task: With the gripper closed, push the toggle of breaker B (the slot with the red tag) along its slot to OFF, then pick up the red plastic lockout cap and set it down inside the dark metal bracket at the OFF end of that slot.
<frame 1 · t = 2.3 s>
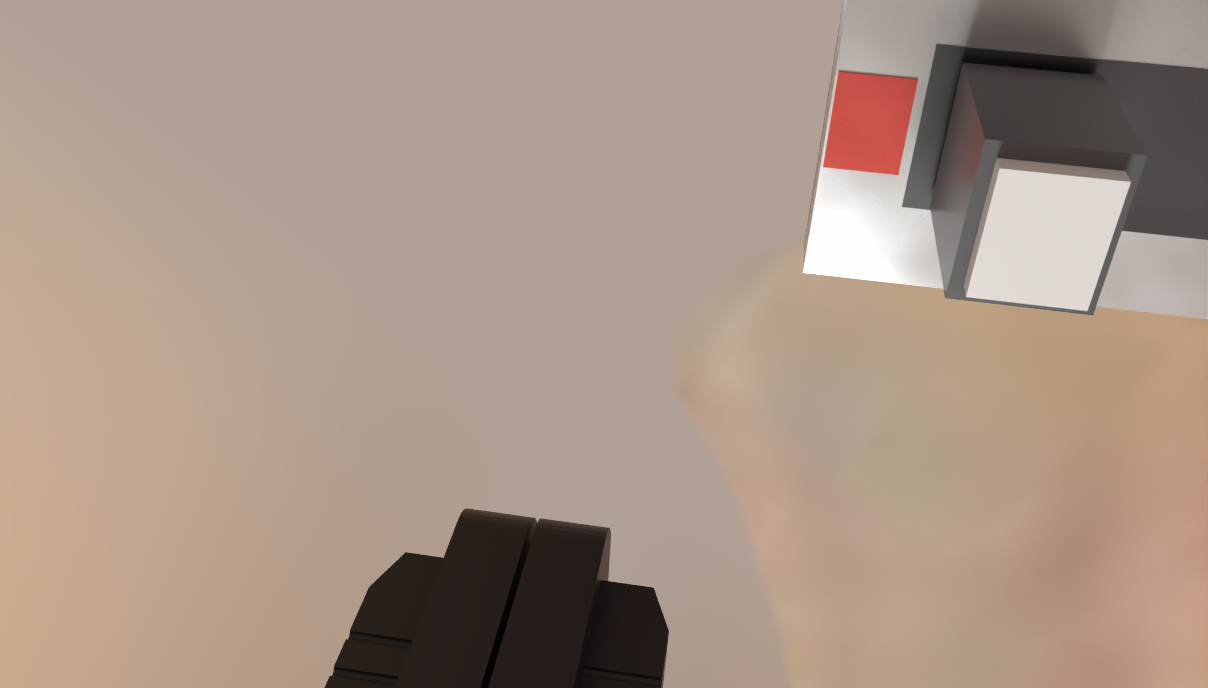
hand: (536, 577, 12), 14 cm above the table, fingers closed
toggle B: (1027, 189, 20), point 3 cm above the table, slide at 0.0 cm
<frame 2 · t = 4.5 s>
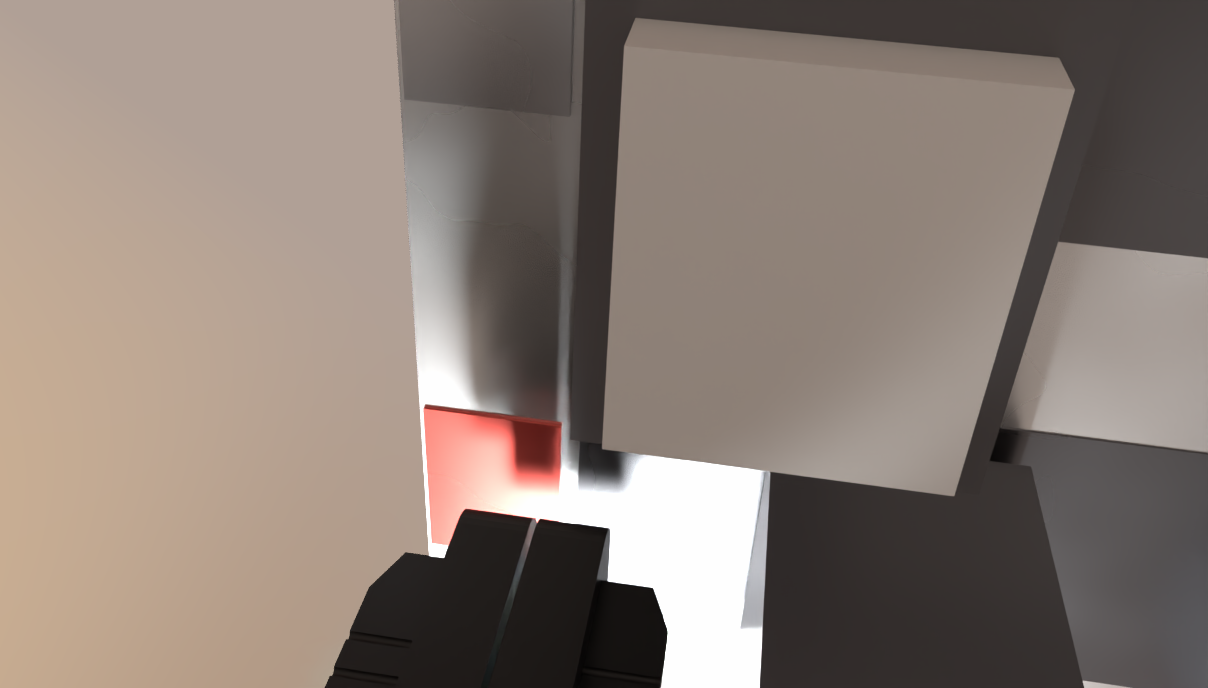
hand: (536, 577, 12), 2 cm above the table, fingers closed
toggle A: (808, 137, 7), point 3 cm above the table, slide at 0.0 cm
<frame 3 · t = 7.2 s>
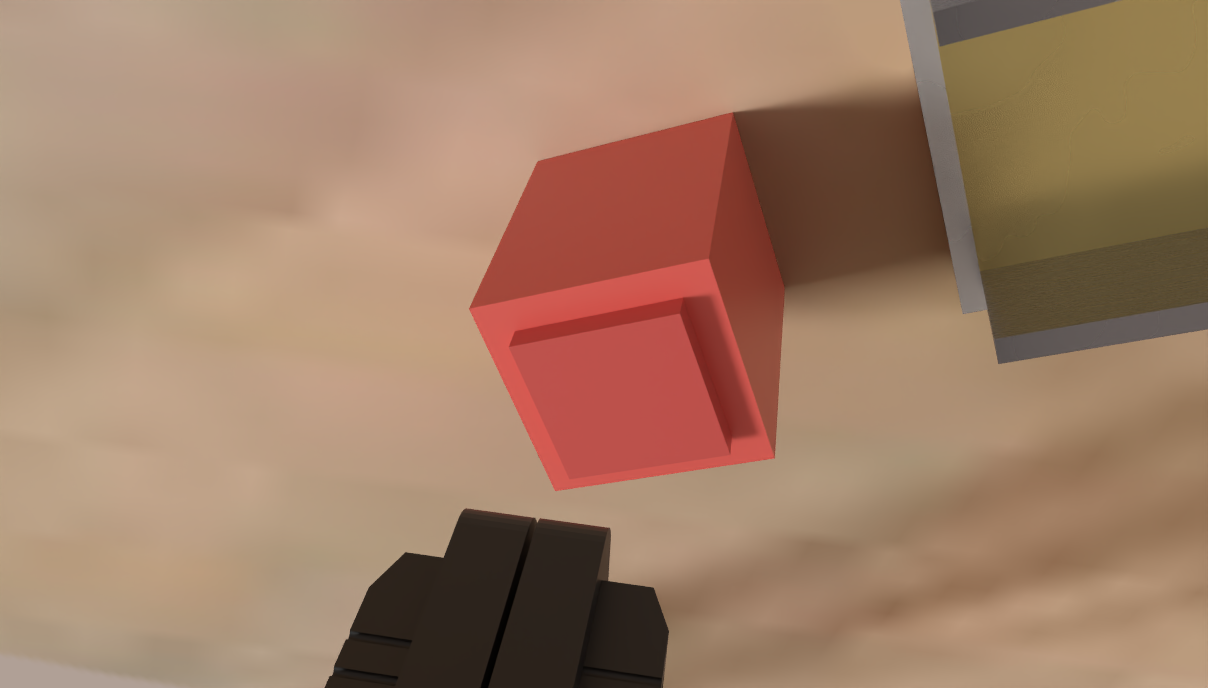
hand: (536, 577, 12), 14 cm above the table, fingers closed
lockout cap: (663, 225, 26), on the table
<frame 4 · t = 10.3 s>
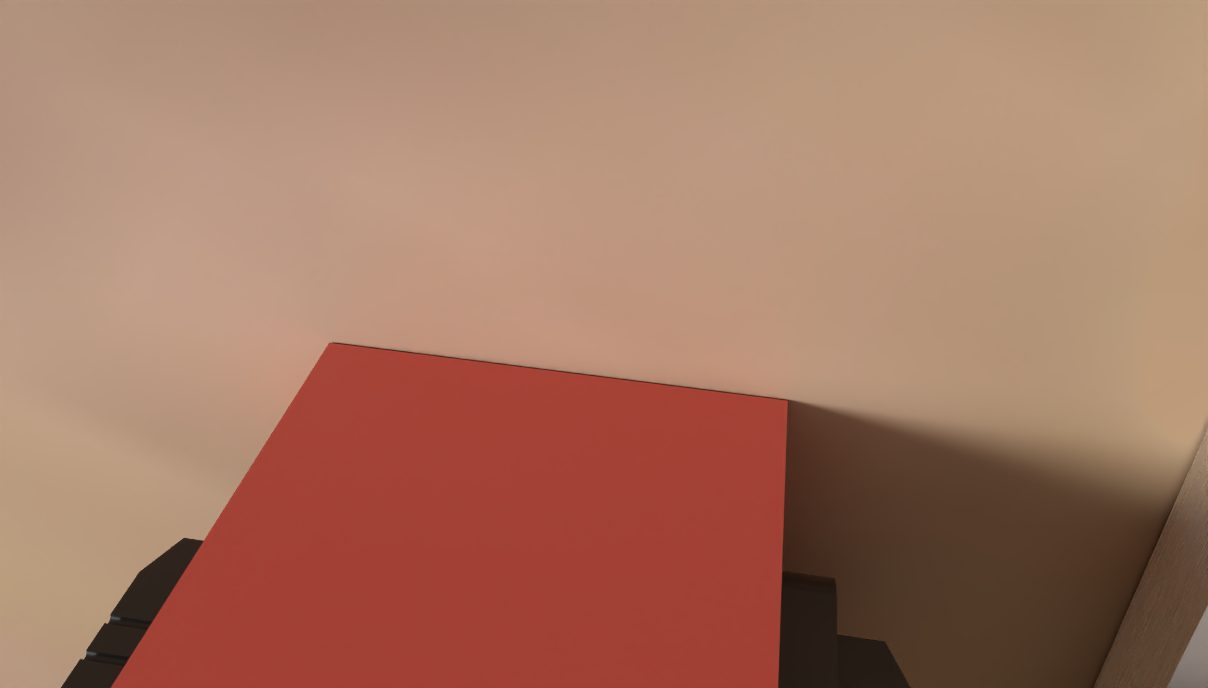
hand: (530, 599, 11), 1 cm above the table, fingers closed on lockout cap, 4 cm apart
lockout cap: (550, 539, 12), on the table, touching gripper
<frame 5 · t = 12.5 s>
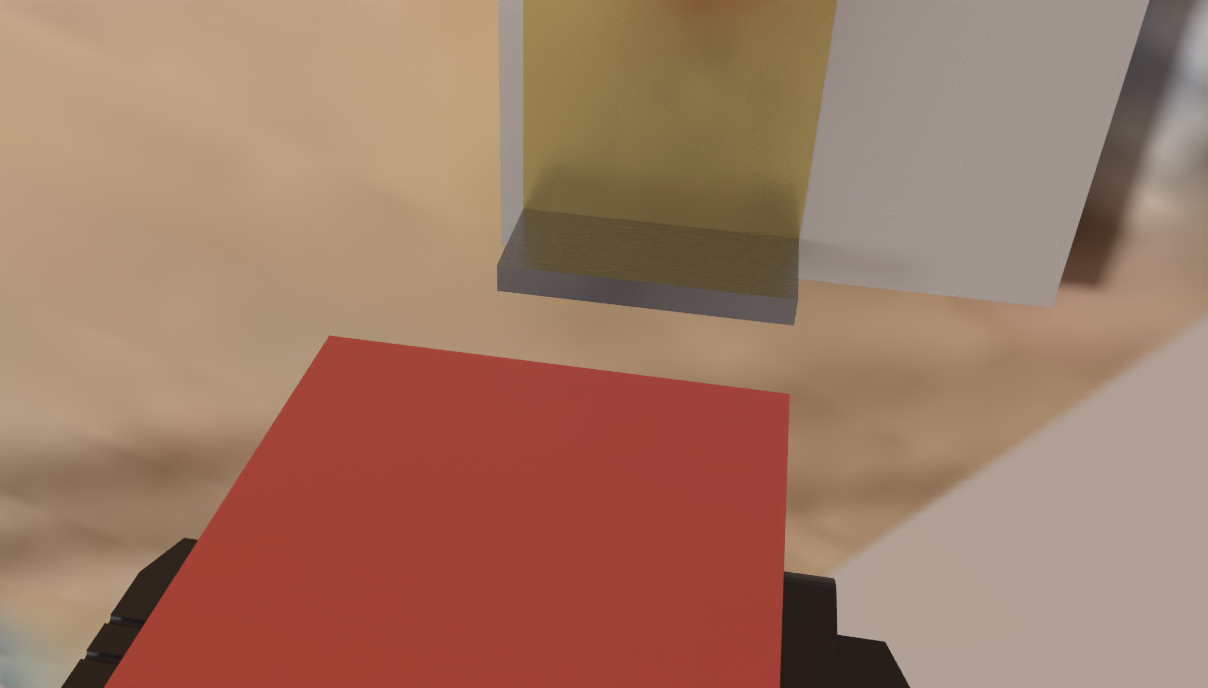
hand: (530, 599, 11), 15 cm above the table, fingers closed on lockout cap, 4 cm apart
lockout cap: (550, 533, 12), point 14 cm above the table, touching gripper
when the fingers open (3 cm above the table, at t = 14.9 s): lockout cap drops 1 cm, resting on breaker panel.
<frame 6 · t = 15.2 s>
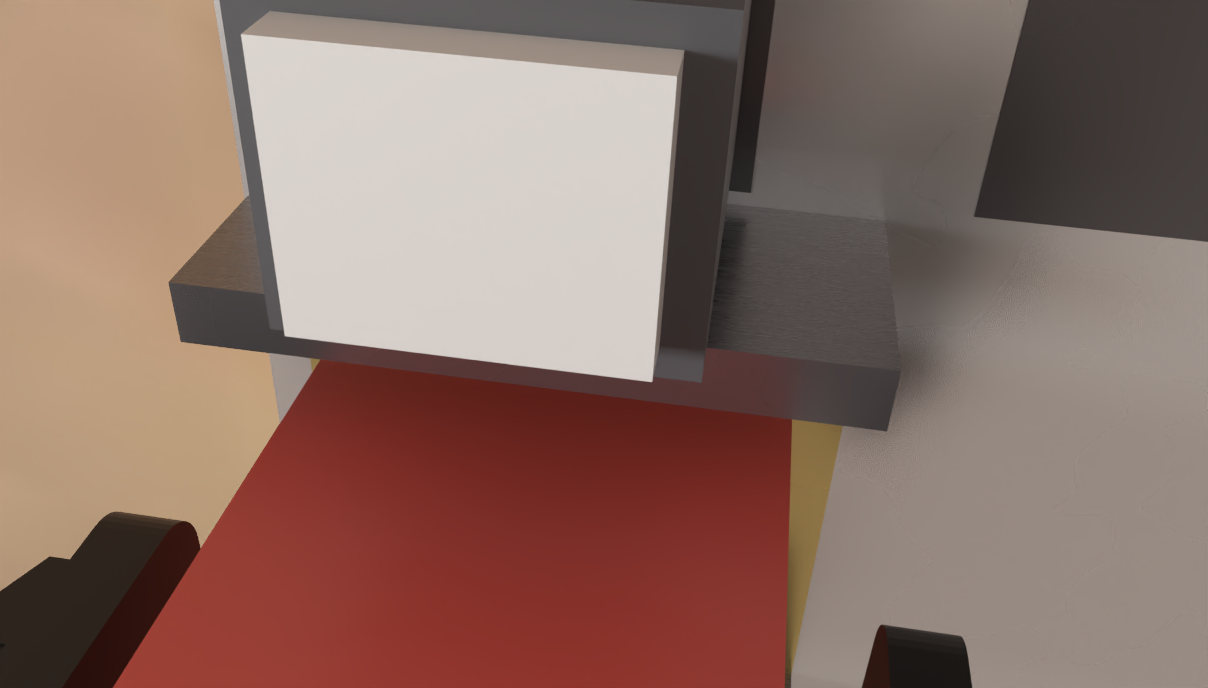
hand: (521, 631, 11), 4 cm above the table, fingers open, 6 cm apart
lockout cap: (573, 465, 13), point 1 cm above the table, touching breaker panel
toggle B: (529, 94, 8), point 3 cm above the table, slide at 4.0 cm
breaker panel: (844, 80, 11), on the table
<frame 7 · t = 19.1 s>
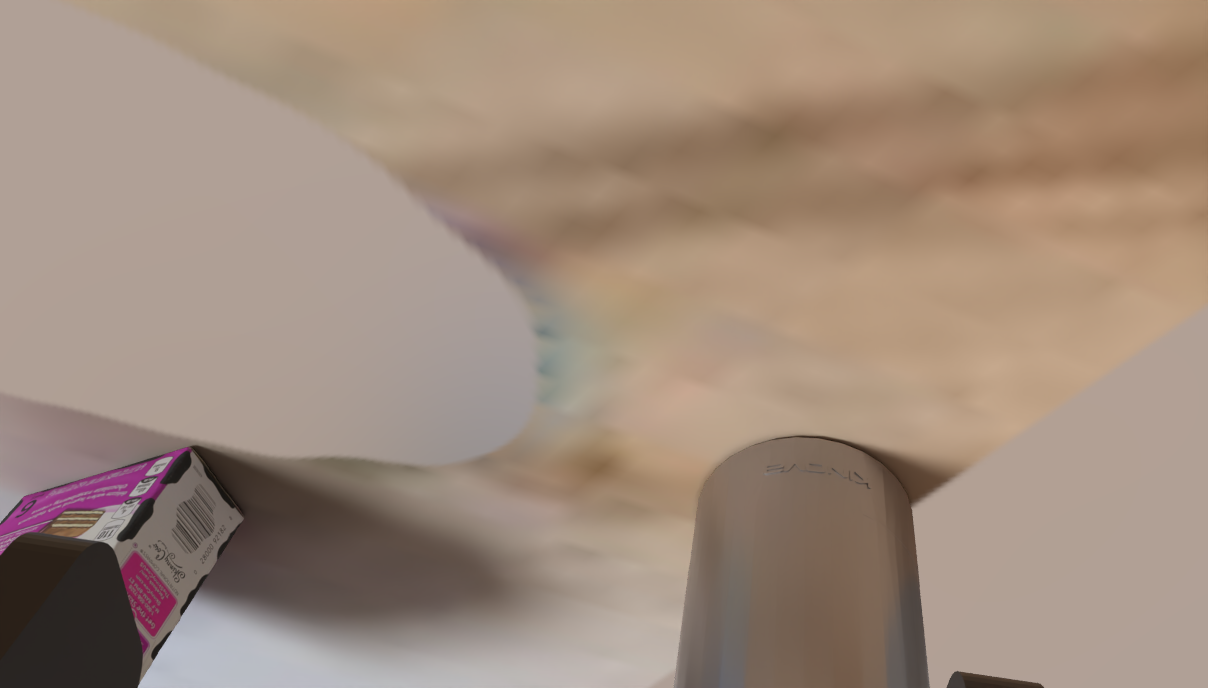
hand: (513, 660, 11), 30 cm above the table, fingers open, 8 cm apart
candy bar box: (133, 499, 55), on the table
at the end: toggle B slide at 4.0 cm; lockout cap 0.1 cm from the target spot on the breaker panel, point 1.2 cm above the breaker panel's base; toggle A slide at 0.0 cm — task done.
